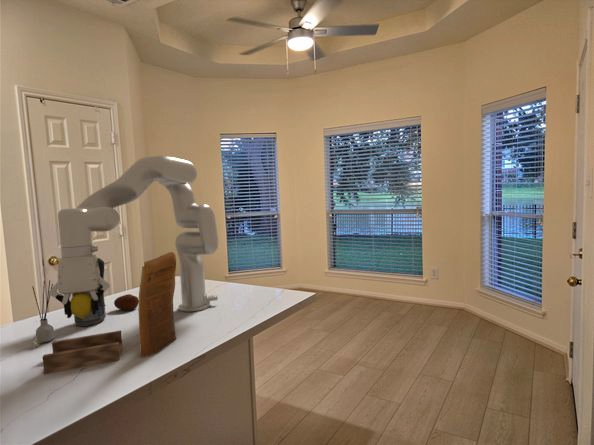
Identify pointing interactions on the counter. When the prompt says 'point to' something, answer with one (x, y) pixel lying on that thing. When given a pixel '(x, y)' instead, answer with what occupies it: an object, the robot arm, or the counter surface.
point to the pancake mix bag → (157, 304)
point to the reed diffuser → (43, 325)
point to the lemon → (81, 304)
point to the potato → (126, 302)
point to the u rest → (83, 352)
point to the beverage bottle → (100, 313)
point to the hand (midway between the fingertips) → (82, 314)
